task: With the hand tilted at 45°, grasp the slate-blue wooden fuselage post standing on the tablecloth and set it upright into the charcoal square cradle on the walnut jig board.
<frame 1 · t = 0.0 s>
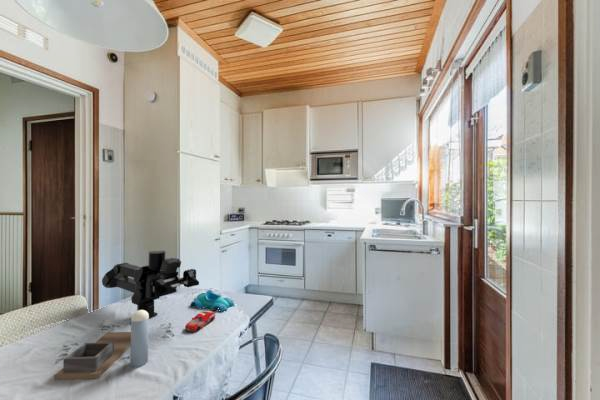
hand: (187, 286, 93), 17 cm above the table, tool horizontal, fingers open, 9 cm apart
jig board: (103, 354, 80), on the table
toy car: (212, 306, 118), on the table
fuselage post: (139, 362, 77), on the table
race car: (200, 325, 100), on the table
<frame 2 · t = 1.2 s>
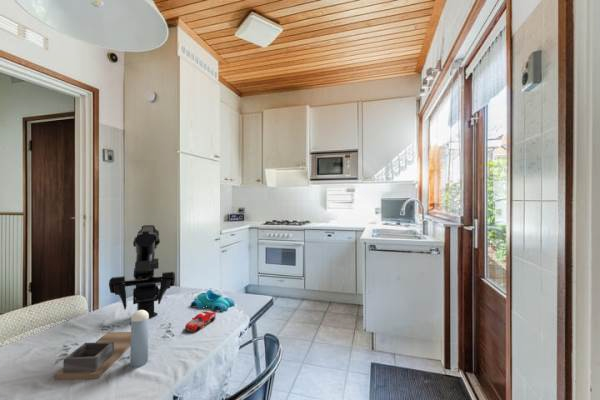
hand: (142, 306, 83), 13 cm above the table, tool tilted 45°, fingers open, 9 cm apart
nothing on the table moved.
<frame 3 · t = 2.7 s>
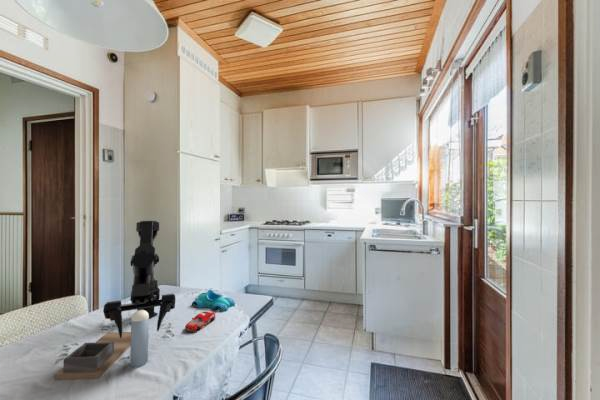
hand: (139, 334, 77), 8 cm above the table, tool tilted 45°, fingers open, 9 cm apart
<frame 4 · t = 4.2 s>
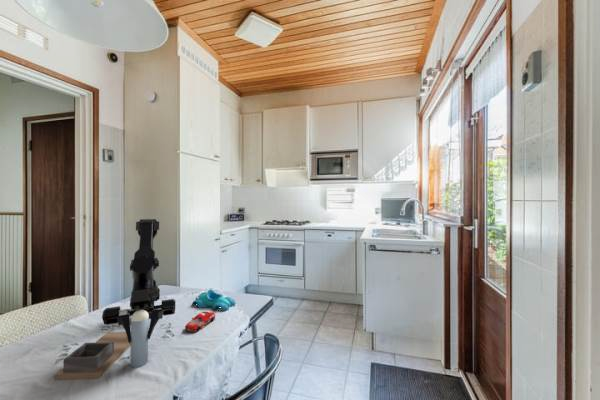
hand: (139, 340, 75), 7 cm above the table, tool tilted 45°, fingers closed on fuselage post, 4 cm apart
fuselage post: (139, 362, 77), on the table, touching gripper
everything else where it was.
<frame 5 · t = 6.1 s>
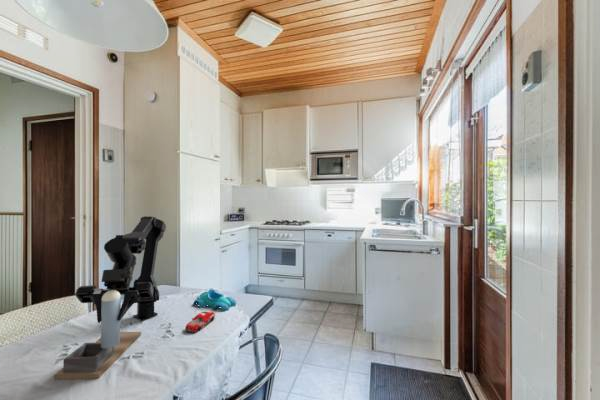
hand: (108, 321, 73), 13 cm above the table, tool tilted 45°, fingers closed on fuselage post, 4 cm apart
fuselage post: (110, 343, 75), point 6 cm above the table, touching gripper
when the fingers open (9 cm above the table, at t = 8.2 s): fuselage post drops 1 cm, resting on jig board.
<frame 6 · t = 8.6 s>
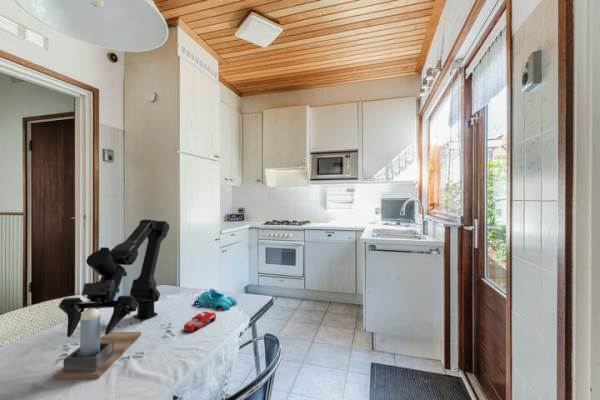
hand: (87, 335, 73), 10 cm above the table, tool tilted 45°, fingers open, 9 cm apart
fuselage post: (90, 362, 74), point 1 cm above the table, touching jig board
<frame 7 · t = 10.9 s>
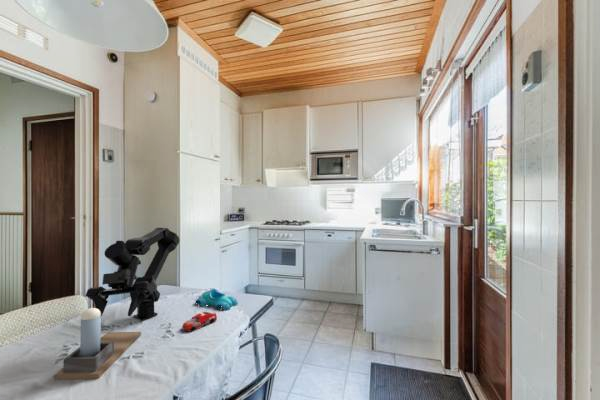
hand: (113, 317, 83), 10 cm above the table, tool tilted 40°, fingers open, 9 cm apart
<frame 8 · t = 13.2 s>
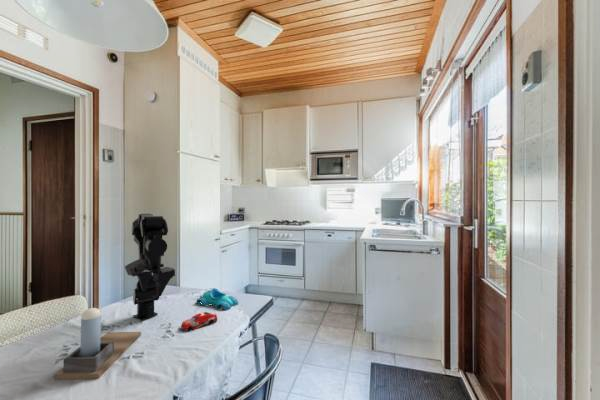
hand: (151, 293, 96), 13 cm above the table, tool pointing down, fingers open, 9 cm apart
at the end: fuselage post 0.0 cm from the target spot, point 1.2 cm above the table; fuselage post tilted 0°; the gripper is holding nothing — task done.
